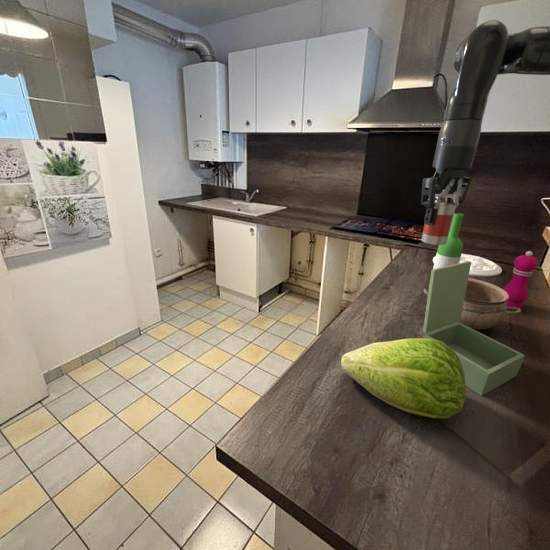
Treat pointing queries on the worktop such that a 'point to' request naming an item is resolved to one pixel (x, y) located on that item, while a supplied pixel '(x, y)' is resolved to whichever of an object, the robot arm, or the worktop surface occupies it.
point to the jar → (439, 225)
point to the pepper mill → (520, 280)
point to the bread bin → (480, 356)
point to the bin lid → (446, 296)
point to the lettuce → (410, 375)
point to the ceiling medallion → (480, 266)
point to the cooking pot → (484, 305)
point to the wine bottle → (450, 245)
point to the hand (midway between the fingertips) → (437, 223)
